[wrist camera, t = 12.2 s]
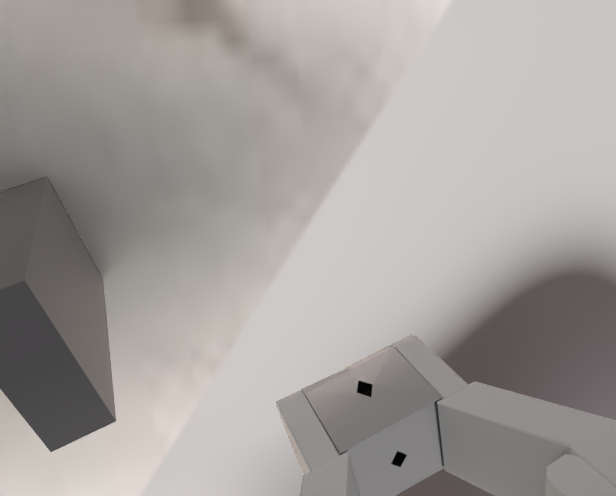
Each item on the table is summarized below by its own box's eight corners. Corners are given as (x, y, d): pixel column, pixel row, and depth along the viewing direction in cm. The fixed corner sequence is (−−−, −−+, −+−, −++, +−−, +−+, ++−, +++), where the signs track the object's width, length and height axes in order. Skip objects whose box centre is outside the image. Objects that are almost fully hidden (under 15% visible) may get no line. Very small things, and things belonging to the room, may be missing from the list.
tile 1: (61, 295, 20) (50, 452, 13) (-2, 192, 18) (-60, 312, 10) (103, 279, 21) (115, 421, 13) (47, 176, 18) (24, 280, 11)
